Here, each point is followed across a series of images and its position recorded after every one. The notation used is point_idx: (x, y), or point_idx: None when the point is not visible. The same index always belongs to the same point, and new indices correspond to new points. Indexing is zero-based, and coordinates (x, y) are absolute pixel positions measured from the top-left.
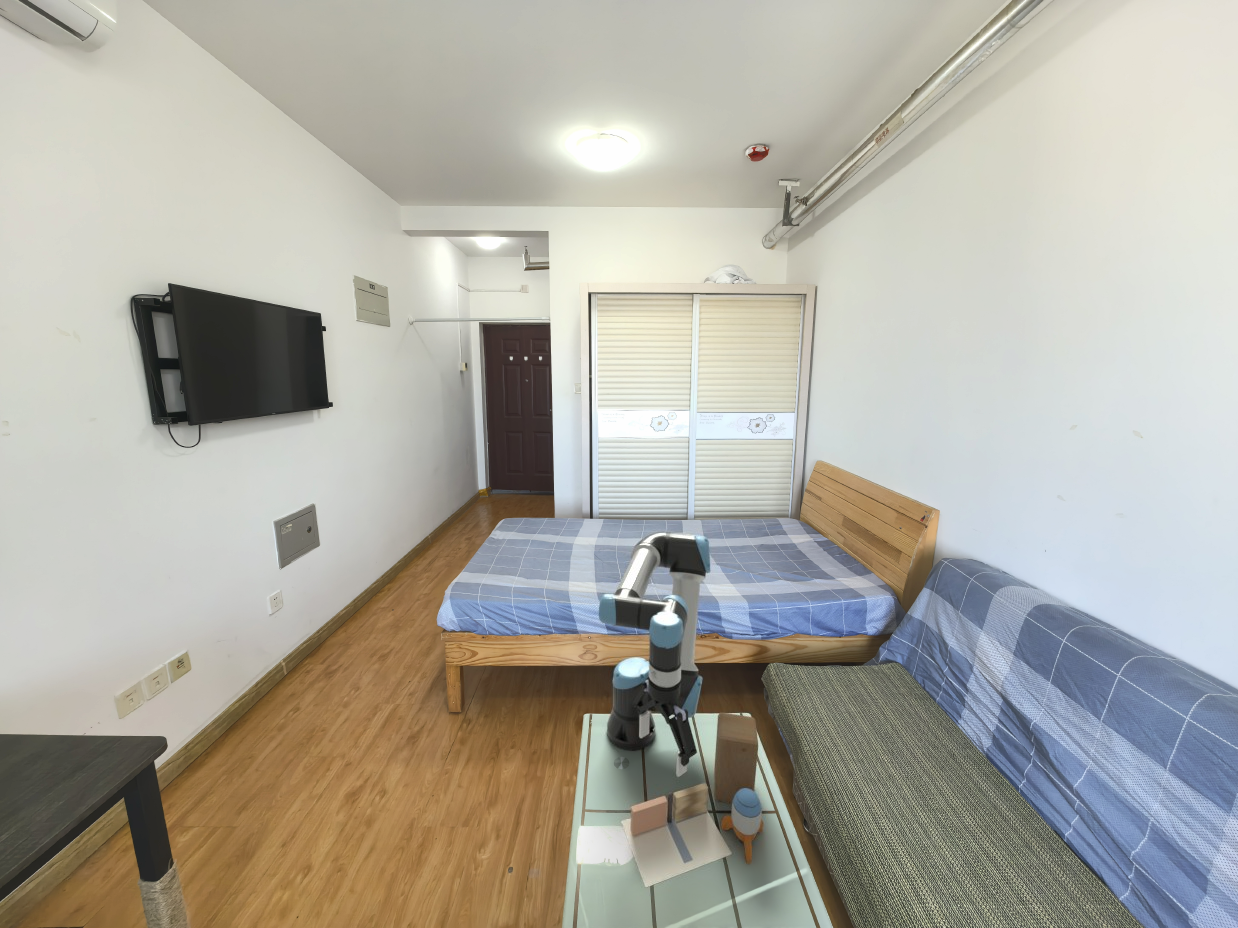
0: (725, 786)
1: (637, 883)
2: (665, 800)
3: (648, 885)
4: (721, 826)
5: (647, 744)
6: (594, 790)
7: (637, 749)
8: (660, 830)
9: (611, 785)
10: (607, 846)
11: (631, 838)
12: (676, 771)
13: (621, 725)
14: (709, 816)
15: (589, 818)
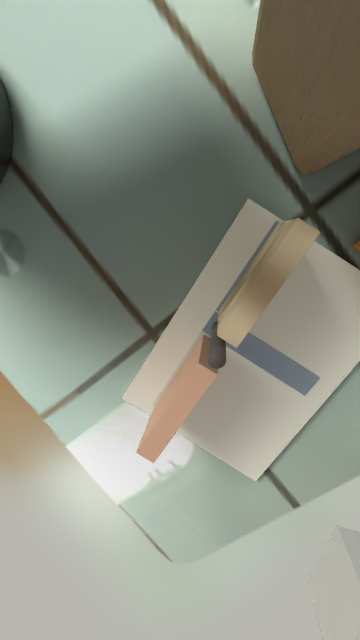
0: (357, 146)
1: (234, 476)
2: (210, 376)
3: (258, 474)
4: (355, 248)
5: (9, 138)
6: (17, 367)
7: (1, 179)
8: None
9: (37, 330)
10: None
11: None
12: (318, 613)
13: None
14: None
15: (62, 427)
